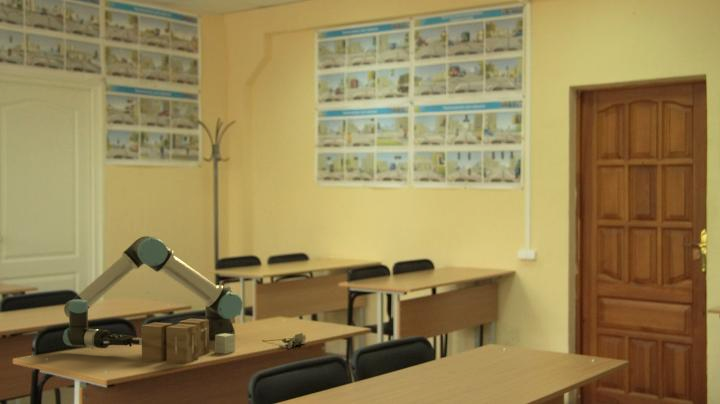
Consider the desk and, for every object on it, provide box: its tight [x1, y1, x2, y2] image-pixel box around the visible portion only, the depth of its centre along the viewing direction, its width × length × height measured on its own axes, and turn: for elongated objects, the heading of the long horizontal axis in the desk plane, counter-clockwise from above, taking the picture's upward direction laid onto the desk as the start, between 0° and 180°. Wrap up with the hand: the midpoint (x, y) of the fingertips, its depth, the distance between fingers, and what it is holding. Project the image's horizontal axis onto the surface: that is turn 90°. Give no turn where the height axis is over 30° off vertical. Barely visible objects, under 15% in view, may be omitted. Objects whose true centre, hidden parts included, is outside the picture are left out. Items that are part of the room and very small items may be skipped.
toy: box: [262, 332, 307, 350], centre depth 399 cm, size 29×5×15 cm
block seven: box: [178, 318, 210, 358], centre depth 378 cm, size 9×9×14 cm
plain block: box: [141, 321, 174, 363], centre depth 368 cm, size 9×9×14 cm
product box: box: [214, 333, 236, 355], centre depth 383 cm, size 6×6×7 cm
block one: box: [166, 323, 199, 365], centre depth 364 cm, size 9×9×14 cm
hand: (147, 342), depth 370 cm, fingers closed
